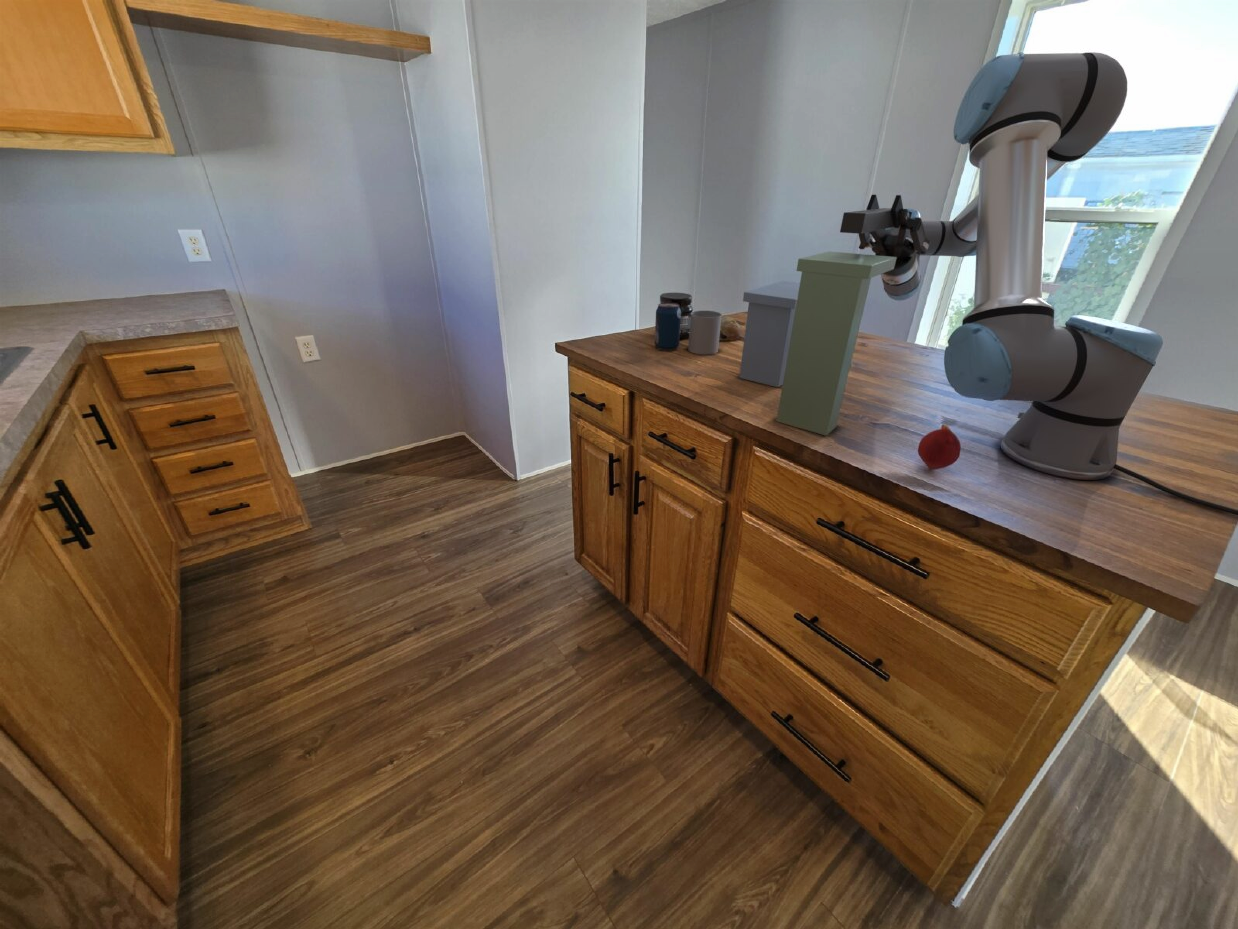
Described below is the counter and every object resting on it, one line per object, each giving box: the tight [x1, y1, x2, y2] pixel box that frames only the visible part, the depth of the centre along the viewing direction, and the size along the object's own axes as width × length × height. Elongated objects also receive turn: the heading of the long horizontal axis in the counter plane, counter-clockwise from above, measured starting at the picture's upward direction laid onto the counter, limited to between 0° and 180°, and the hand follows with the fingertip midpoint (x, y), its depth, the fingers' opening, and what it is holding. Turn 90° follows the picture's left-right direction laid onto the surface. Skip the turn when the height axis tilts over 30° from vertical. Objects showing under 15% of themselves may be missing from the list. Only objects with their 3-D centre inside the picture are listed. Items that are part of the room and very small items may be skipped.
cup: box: [687, 310, 723, 355], centre depth 140 cm, size 8×8×10 cm
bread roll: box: [719, 315, 741, 342], centre depth 153 cm, size 10×10×8 cm
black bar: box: [839, 207, 894, 235], centre depth 90 cm, size 4×22×3 cm, turn 140°
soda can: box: [654, 302, 681, 352], centre depth 141 cm, size 7×7×12 cm
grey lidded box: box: [738, 280, 800, 388], centre depth 120 cm, size 12×20×20 cm, turn 140°
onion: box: [917, 423, 962, 471], centre depth 82 cm, size 6×6×8 cm
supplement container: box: [659, 292, 694, 340], centre depth 152 cm, size 10×10×12 cm
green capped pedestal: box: [775, 251, 897, 437], centre depth 94 cm, size 12×14×30 cm
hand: (883, 202), depth 92 cm, fingers closed on black bar, 3 cm apart
